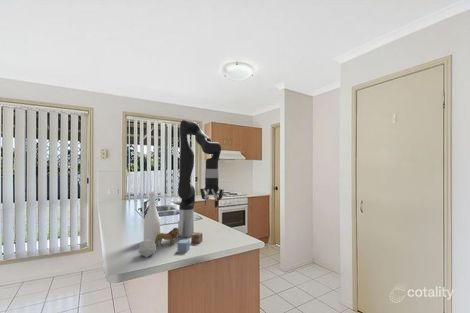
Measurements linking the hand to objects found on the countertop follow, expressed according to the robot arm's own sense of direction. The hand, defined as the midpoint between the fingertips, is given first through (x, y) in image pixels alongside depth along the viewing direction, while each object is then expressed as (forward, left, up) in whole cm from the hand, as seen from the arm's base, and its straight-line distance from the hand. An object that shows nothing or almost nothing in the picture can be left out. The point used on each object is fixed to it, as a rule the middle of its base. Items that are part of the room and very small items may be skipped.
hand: (211, 206), depth 135 cm
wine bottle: (-38, -3, -23) cm, 44 cm away
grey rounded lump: (-26, -22, -23) cm, 41 cm away
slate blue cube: (-12, -10, -22) cm, 27 cm away
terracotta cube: (0, 0, 0) cm, 0 cm away
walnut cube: (-12, +5, -22) cm, 26 cm away
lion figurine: (-27, -4, -23) cm, 35 cm away
